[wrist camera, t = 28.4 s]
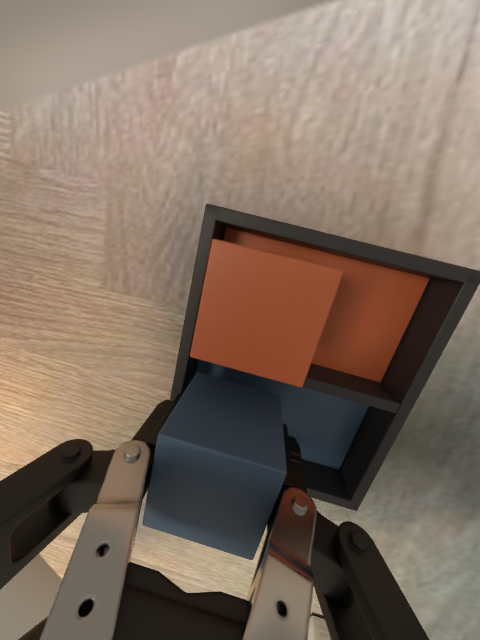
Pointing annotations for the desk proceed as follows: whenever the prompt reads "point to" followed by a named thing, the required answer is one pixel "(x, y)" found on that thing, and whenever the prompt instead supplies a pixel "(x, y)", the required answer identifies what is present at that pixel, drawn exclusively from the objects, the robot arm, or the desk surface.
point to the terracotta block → (262, 312)
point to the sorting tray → (344, 346)
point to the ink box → (318, 629)
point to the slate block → (218, 466)
